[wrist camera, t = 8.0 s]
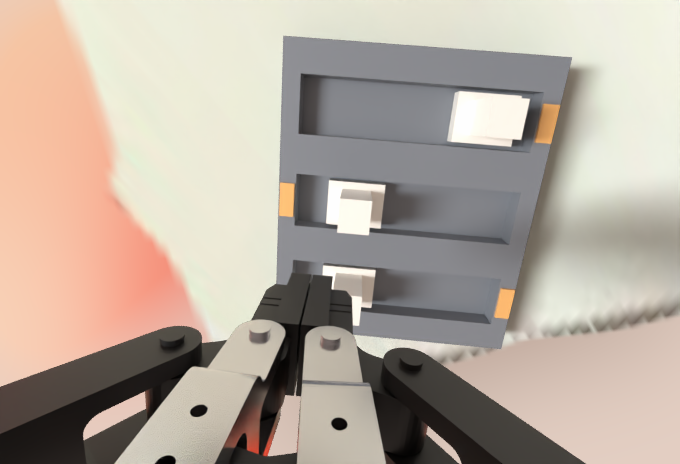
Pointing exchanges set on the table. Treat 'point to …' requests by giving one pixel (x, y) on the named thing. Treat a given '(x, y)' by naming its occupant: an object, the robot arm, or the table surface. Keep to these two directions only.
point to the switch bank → (414, 179)
